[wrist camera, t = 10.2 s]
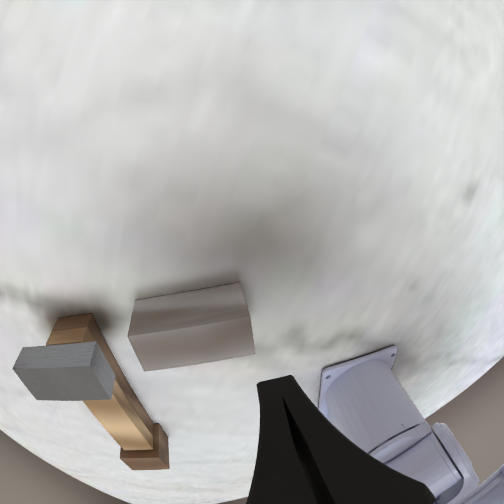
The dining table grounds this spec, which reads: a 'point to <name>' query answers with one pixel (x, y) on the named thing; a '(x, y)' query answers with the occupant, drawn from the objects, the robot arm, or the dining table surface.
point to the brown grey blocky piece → (175, 346)
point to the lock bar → (66, 372)
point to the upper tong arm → (110, 402)
